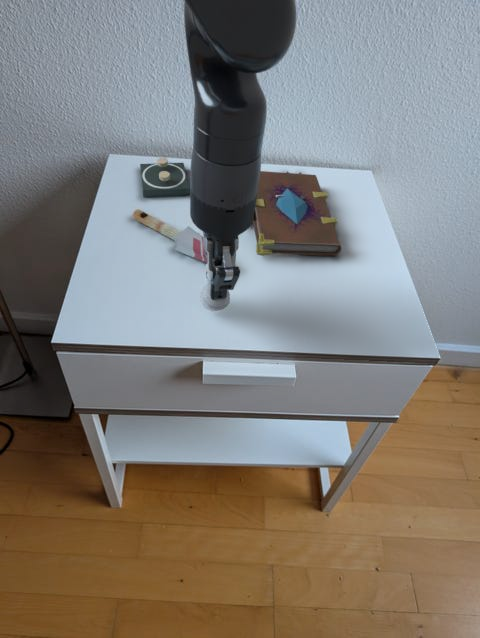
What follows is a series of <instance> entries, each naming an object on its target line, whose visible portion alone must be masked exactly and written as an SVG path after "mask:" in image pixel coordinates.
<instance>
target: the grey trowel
mask: <svg viewBox="0 0 480 638" xmlns="http://www.w3.org/2000/svg"><path fill="white" fill-rule="evenodd" d="M132 218H133V220H136V221H137V222H139V223H141V224H143V225H145V226H147V227H148V228H151V229H152V230H154V231H156V232H158V233H160V234H162V235H164V236H165V237H168V238H169V239H171V240H173V241H174V243H175V245H176V246H175V249H174V251H176V252H178V253H181V254H183V255H185V256H188V257H192V258H194V259H197V260H199V261H202V262H204V263H207V258H206V256H205V252H206V250H205V249H204V244H203V236H204V235H202V234H200V233H199V232H198V231H196V230H195V229H193V228H192V227H190V226H189V225H188V226H187V227H185V228H184V229H183V230H182V231H180V230H178V229H177V228H175V227H173V226H171V225H169V224H167V223H165V222H164V221H162V220H160V219H158V218H156V217H153V216H152V215H150V214H149V213H146V212H145V211H143V210H141V209H138V208H137V209H135V210H134V211H133V214H132Z"/></svg>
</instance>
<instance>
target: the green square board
mask: <svg viewBox="0 0 480 638" xmlns="http://www.w3.org/2000/svg"><path fill="white" fill-rule="evenodd" d="M139 166H140V179H141V186H142V196H143V198H155V197H175V196H190V188H189V182H188V178H187V173H186V168H185V167H186V166H185V163H184V162H168V165H167V166H166V167H160V166H158V165H157V162H156V163H155V162H154V163H140V164H139ZM162 171H167V172H169V173H170V179H169V180H168V181H162V180H160V179H159V173H160V172H162Z"/></svg>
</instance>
